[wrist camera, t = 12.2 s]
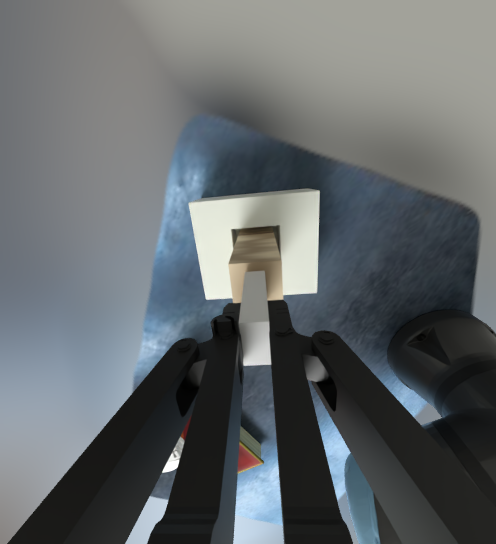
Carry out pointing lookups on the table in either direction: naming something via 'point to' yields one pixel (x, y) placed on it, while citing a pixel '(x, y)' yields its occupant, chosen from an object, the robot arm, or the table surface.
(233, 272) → the maple peg
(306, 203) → the socket block
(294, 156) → the table surface
